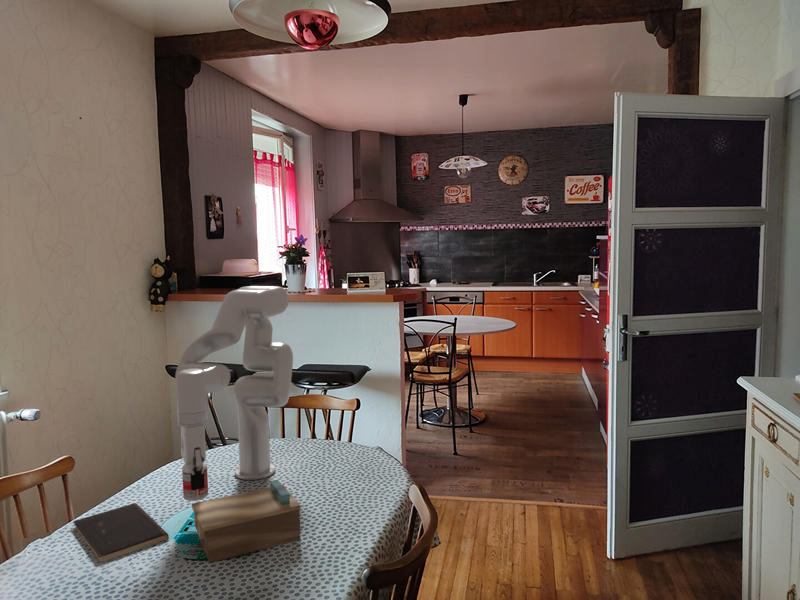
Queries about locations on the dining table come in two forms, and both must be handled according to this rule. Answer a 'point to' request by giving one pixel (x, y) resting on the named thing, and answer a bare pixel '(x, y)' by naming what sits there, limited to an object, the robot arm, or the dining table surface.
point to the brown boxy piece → (251, 536)
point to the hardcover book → (119, 531)
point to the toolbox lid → (243, 507)
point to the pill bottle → (187, 491)
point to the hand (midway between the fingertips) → (195, 483)
